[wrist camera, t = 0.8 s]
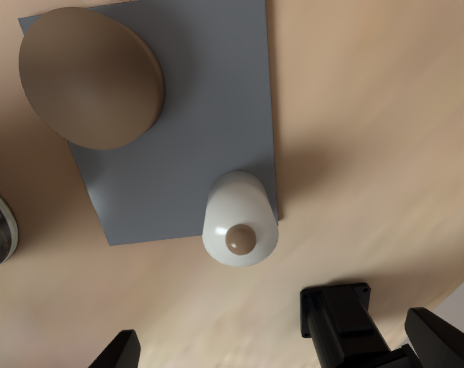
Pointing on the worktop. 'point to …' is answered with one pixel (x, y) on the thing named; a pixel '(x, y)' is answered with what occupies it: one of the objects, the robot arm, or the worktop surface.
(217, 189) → the cap
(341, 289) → the robot arm
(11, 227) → the coffee can
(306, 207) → the worktop surface
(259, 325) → the worktop surface
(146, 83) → the base
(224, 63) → the board
